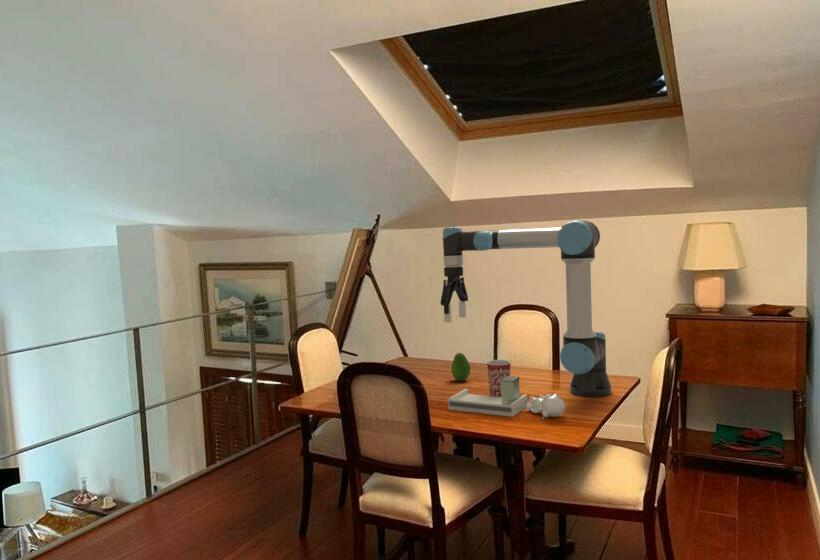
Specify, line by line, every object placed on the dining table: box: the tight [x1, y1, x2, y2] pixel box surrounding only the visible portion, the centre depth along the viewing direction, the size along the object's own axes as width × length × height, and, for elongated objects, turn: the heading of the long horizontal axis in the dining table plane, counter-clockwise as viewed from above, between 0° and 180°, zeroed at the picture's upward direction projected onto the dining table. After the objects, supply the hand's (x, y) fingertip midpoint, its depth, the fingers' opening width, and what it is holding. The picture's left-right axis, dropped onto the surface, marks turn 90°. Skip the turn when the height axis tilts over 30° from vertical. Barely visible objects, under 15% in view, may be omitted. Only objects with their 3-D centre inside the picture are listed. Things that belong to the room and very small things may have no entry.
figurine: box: [525, 391, 566, 420], centre depth 207 cm, size 11×7×15 cm
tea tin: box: [501, 375, 521, 405], centre depth 214 cm, size 5×6×9 cm
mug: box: [486, 359, 512, 397], centre depth 232 cm, size 13×9×14 cm
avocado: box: [451, 352, 471, 382], centre depth 260 cm, size 8×8×12 cm
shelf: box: [447, 388, 528, 418], centre depth 218 cm, size 24×15×4 cm, turn 60°
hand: (455, 319), depth 245 cm, fingers open, 13 cm apart
